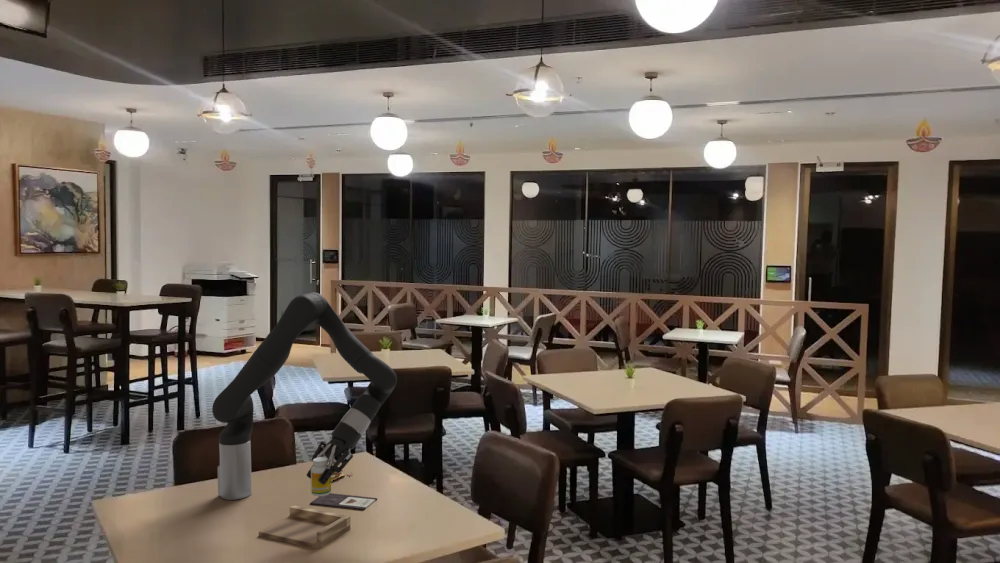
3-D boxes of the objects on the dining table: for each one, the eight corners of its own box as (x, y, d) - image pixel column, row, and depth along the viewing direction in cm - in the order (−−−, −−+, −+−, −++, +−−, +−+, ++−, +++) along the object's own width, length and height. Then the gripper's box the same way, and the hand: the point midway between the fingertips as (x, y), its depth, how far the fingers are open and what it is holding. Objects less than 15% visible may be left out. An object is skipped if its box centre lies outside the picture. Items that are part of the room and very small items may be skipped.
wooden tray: (258, 536, 191) (258, 523, 191) (293, 517, 204) (293, 505, 203) (317, 549, 183) (317, 535, 182) (350, 528, 195) (350, 516, 195)
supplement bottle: (309, 491, 194) (308, 457, 194) (329, 488, 196) (328, 455, 196) (313, 498, 189) (312, 463, 189) (333, 494, 192) (332, 460, 191)
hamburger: (336, 488, 229) (335, 470, 229) (305, 481, 236) (304, 463, 236) (364, 475, 241) (364, 458, 241) (334, 469, 248) (333, 452, 248)
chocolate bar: (325, 492, 222) (377, 498, 217) (325, 495, 222) (377, 501, 217) (310, 502, 214) (363, 508, 209) (310, 505, 214) (363, 511, 209)
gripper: (329, 416, 202) (292, 467, 194) (357, 425, 192) (320, 479, 184) (345, 430, 206) (309, 481, 198) (374, 440, 196) (338, 493, 188)
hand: (315, 479), depth 191 cm, fingers closed on supplement bottle, 5 cm apart
